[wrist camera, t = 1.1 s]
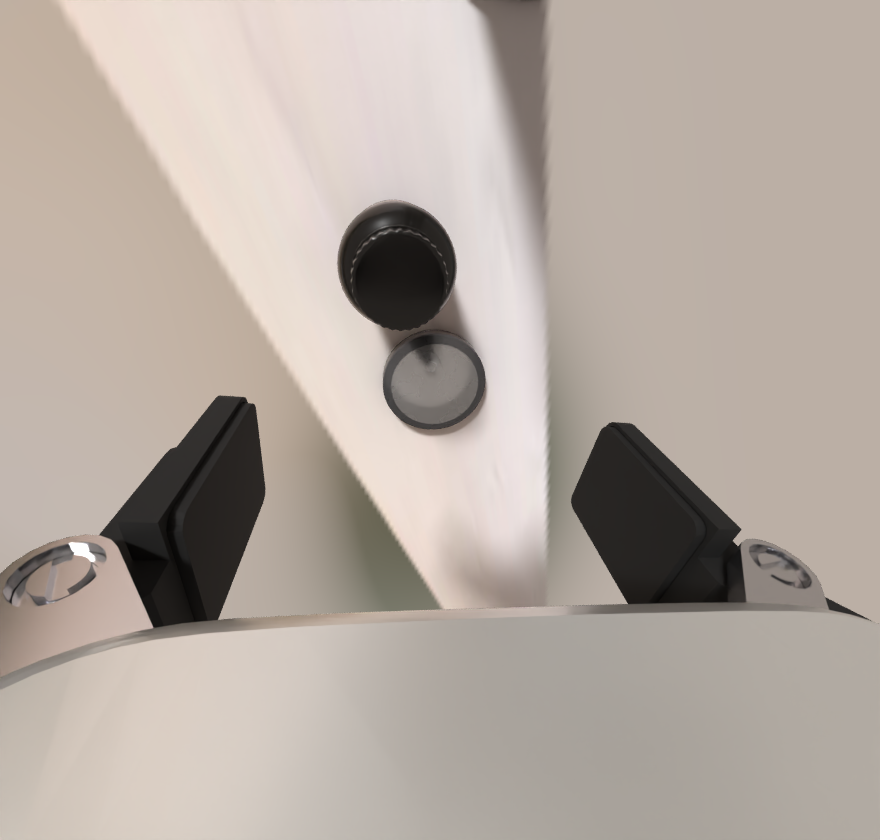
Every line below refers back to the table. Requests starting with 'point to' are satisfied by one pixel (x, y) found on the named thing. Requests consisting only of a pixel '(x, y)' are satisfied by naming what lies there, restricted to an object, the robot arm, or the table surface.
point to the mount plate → (433, 379)
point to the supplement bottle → (397, 265)
